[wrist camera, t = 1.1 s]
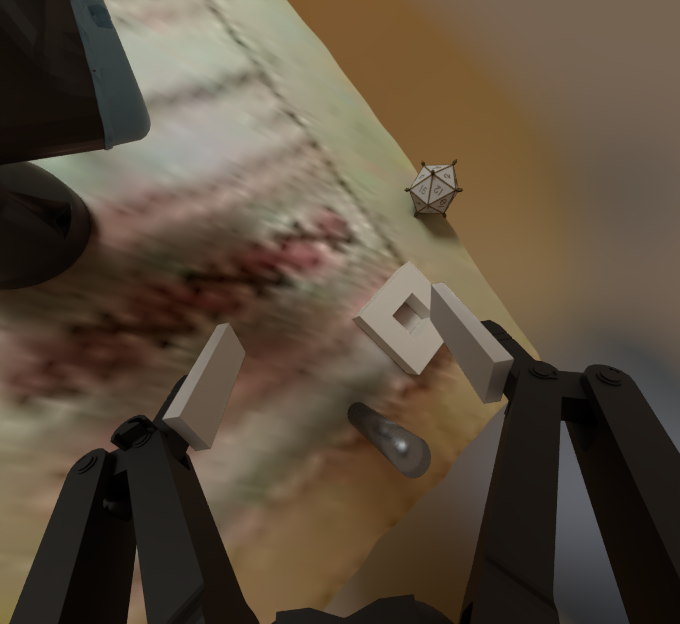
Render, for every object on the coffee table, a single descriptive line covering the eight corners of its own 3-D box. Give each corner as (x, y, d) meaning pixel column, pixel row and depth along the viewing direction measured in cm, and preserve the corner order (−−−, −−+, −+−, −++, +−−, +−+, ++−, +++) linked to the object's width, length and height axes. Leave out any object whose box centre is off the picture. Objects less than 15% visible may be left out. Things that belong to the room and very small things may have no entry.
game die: (409, 206, 47) (447, 153, 41) (440, 233, 44) (486, 180, 38) (385, 199, 41) (425, 135, 35) (419, 230, 38) (469, 166, 32)
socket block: (352, 319, 37) (359, 315, 33) (398, 268, 40) (409, 260, 37) (406, 373, 38) (419, 375, 34) (447, 319, 41) (462, 315, 38)
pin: (343, 415, 34) (389, 461, 20) (357, 397, 35) (411, 428, 21) (359, 430, 34) (416, 486, 20) (373, 412, 35) (437, 453, 21)
